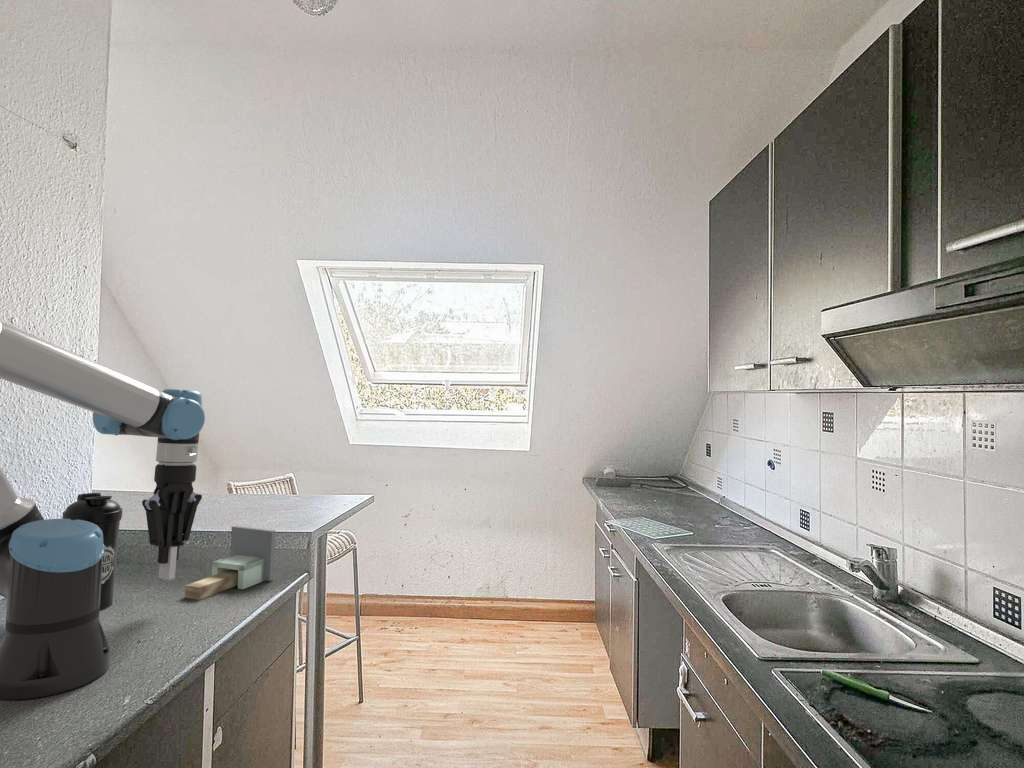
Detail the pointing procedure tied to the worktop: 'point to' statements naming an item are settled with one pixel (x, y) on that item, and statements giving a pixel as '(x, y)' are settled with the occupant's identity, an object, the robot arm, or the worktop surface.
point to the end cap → (249, 556)
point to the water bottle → (108, 521)
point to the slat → (211, 585)
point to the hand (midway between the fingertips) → (166, 578)
